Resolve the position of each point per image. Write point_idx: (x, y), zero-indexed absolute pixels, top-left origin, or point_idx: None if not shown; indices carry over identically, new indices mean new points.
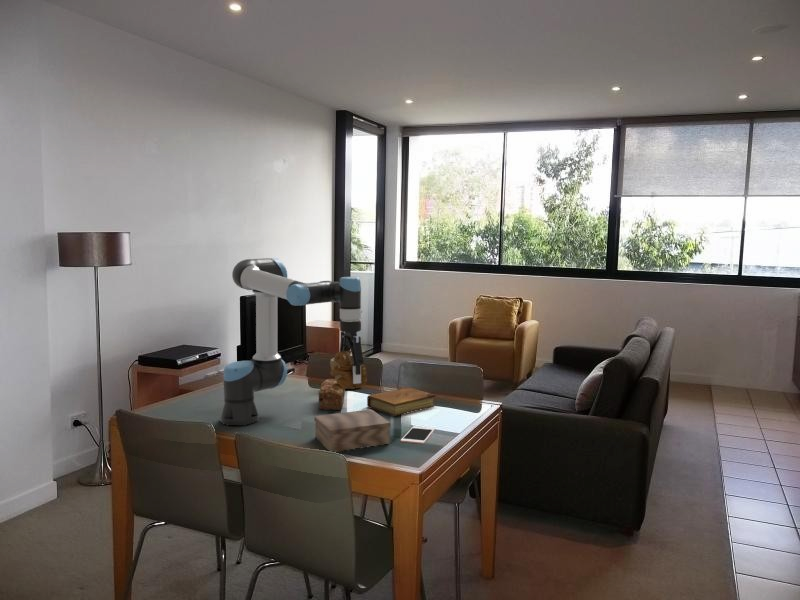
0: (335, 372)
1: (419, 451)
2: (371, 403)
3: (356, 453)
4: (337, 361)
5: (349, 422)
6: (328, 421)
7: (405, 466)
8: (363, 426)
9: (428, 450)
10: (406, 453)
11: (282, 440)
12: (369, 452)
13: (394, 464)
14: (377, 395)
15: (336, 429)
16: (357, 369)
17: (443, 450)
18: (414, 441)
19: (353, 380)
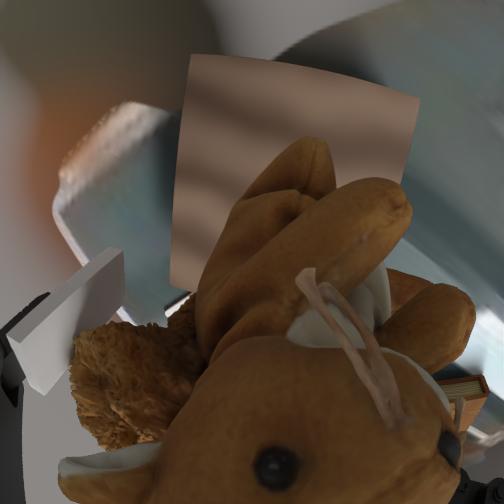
0: (301, 215)
1: (127, 272)
2: (475, 386)
3: (178, 132)
4: (297, 368)
5: (244, 169)
6: (310, 101)
7: (68, 194)
8: (174, 190)
9: (126, 290)
10: (126, 242)
11: (422, 9)
12: (168, 169)
13: (82, 180)
14: (468, 410)
15: (189, 81)
16: (16, 323)
17: (118, 310)
18: (178, 303)
19: (101, 259)
